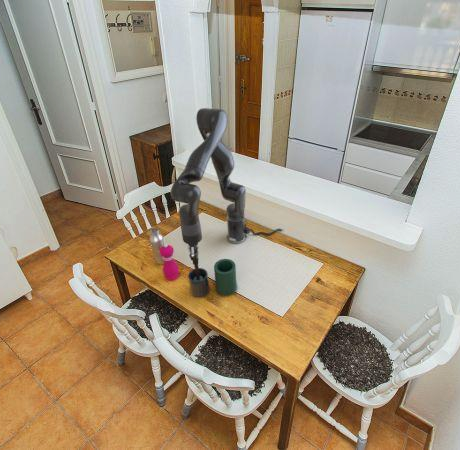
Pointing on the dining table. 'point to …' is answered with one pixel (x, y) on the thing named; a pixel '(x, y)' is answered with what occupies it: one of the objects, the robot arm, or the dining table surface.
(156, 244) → the silver metal bottle
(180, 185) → the robot arm
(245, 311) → the dining table surface
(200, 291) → the pot
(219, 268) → the green jar
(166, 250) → the pepper mill
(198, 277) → the bottle brush
